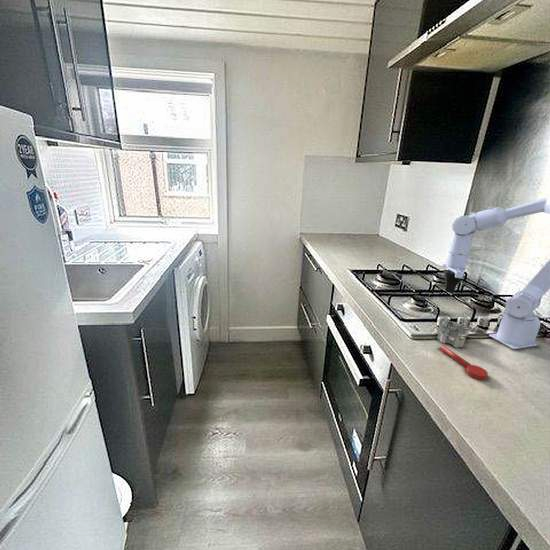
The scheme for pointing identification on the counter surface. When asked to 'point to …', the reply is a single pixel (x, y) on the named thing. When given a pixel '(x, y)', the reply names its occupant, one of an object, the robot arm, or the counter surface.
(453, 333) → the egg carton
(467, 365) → the spoon
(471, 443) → the counter surface
